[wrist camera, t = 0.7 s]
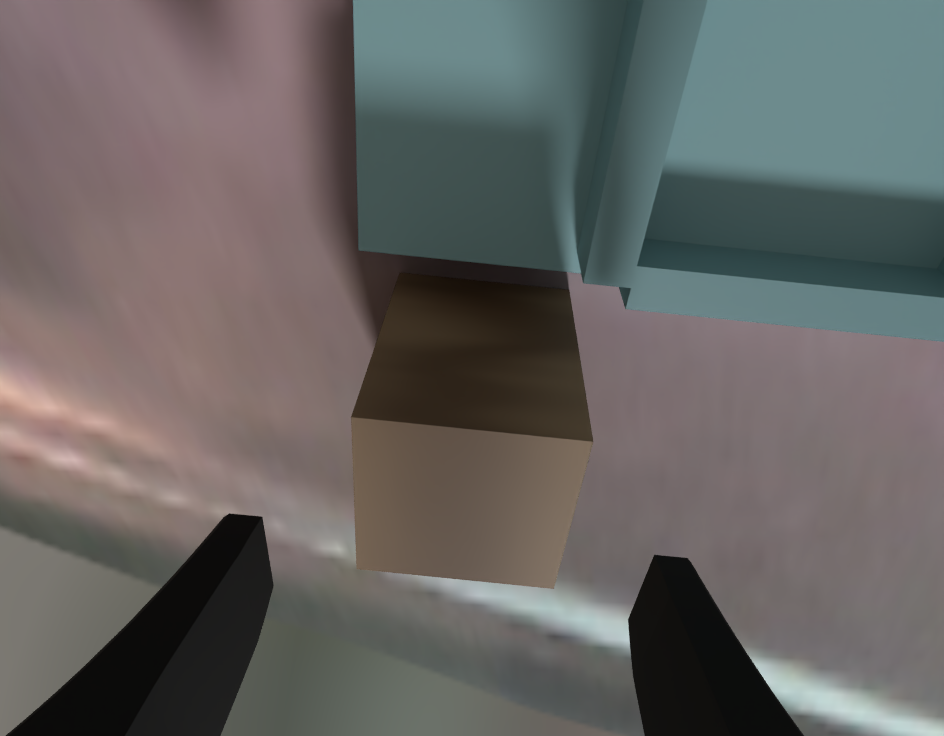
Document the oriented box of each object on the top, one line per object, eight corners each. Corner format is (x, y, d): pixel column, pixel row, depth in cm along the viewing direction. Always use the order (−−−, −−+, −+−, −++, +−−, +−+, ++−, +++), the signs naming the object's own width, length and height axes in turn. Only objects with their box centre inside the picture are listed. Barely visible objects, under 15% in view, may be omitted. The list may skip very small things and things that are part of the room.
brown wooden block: (569, 289, 16) (592, 441, 11) (542, 419, 19) (553, 588, 14) (400, 271, 16) (351, 417, 11) (397, 404, 19) (357, 569, 14)
